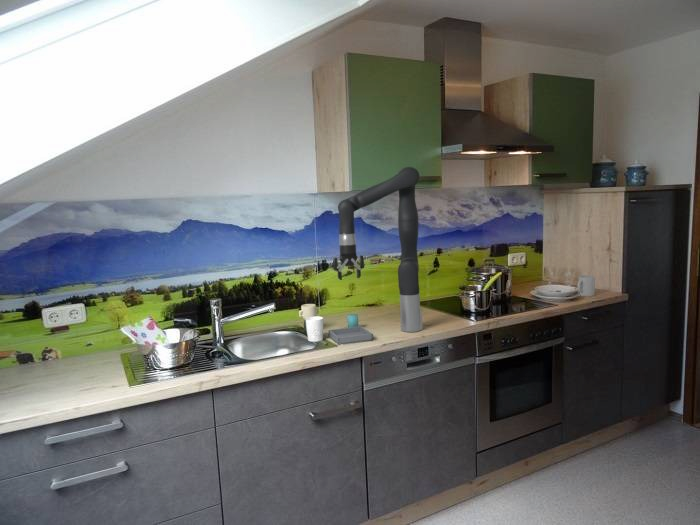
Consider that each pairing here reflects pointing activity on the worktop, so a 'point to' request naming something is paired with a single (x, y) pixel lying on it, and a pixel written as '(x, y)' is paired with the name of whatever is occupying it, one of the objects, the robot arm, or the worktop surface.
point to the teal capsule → (352, 320)
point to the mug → (586, 285)
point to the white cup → (314, 328)
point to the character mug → (308, 312)
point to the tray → (350, 335)
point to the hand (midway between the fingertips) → (349, 278)
